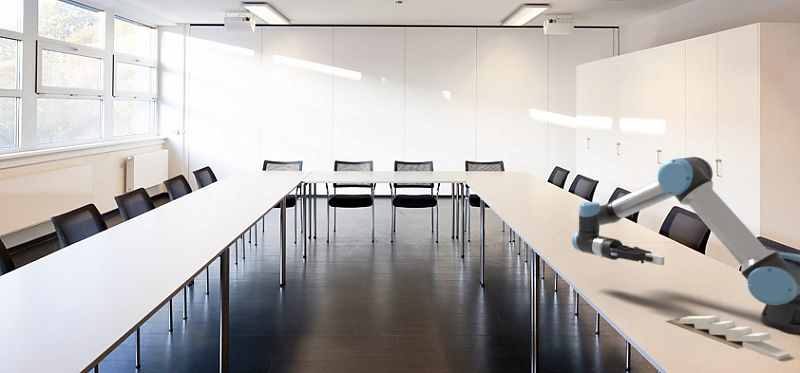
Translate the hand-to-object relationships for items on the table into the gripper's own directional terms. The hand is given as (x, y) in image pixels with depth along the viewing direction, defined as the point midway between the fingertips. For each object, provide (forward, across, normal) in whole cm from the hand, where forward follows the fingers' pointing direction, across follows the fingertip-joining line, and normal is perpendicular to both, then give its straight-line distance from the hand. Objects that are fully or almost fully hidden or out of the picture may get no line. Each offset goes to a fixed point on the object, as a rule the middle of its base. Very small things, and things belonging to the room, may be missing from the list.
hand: (662, 261), depth 195 cm
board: (+20, +3, -18) cm, 27 cm away
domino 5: (+32, +3, -17) cm, 36 cm away
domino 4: (+27, +3, -17) cm, 32 cm away
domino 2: (+17, +3, -16) cm, 23 cm away
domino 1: (+11, +3, -16) cm, 20 cm away
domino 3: (+22, +3, -16) cm, 27 cm away
